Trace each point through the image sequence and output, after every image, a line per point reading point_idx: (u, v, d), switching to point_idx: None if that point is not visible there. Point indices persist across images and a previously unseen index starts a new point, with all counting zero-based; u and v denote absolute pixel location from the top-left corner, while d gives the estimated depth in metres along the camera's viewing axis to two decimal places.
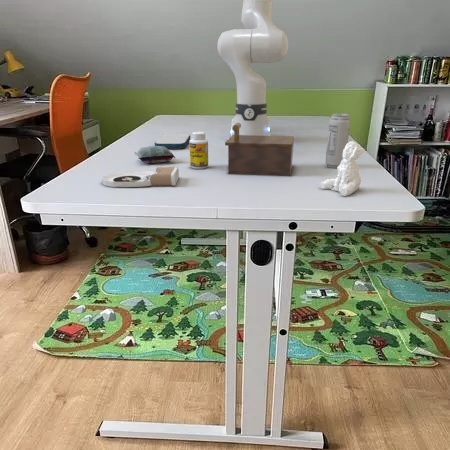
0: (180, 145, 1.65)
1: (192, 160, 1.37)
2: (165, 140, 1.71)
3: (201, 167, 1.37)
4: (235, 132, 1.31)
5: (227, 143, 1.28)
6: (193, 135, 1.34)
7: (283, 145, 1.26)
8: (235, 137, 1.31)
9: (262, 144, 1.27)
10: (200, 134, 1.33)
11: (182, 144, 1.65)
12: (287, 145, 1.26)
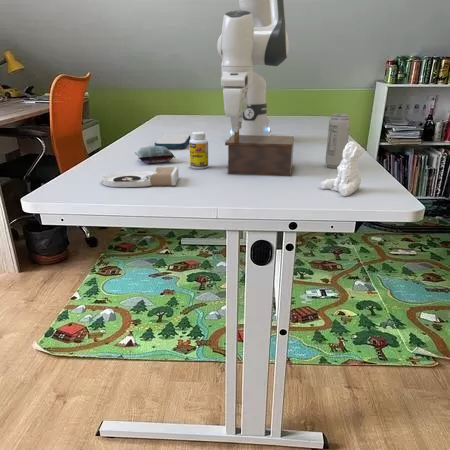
0: (180, 145, 1.65)
1: (192, 160, 1.37)
2: (165, 140, 1.71)
3: (201, 167, 1.37)
4: (235, 132, 1.31)
5: (227, 143, 1.28)
6: (193, 135, 1.34)
7: (283, 145, 1.26)
8: (235, 137, 1.31)
9: (262, 144, 1.27)
10: (200, 134, 1.33)
11: (182, 144, 1.65)
12: (287, 145, 1.26)
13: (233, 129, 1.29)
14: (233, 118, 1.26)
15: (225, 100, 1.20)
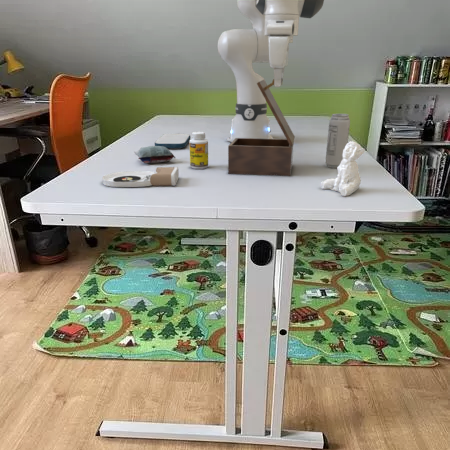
0: (180, 145, 1.65)
1: (192, 160, 1.37)
2: (165, 140, 1.71)
3: (201, 167, 1.37)
4: (271, 84, 1.23)
5: (259, 84, 1.20)
6: (193, 135, 1.34)
7: (287, 138, 1.25)
8: (267, 87, 1.24)
9: (278, 118, 1.23)
10: (200, 134, 1.33)
11: (182, 144, 1.65)
12: (289, 141, 1.25)
13: (276, 83, 1.22)
14: (277, 71, 1.19)
15: (271, 49, 1.13)
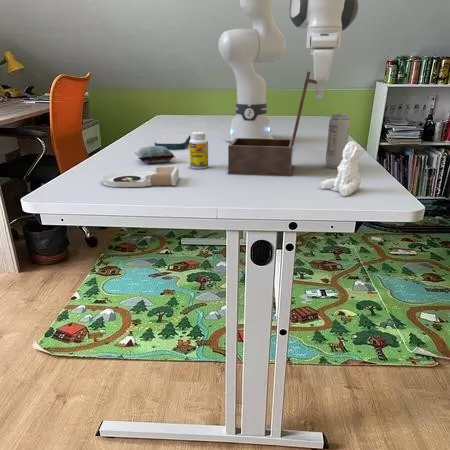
0: (180, 145, 1.65)
1: (192, 160, 1.37)
2: (165, 140, 1.71)
3: (201, 167, 1.37)
4: (316, 82, 1.21)
5: (308, 74, 1.17)
6: (193, 135, 1.34)
7: (294, 137, 1.24)
8: (311, 81, 1.21)
9: (299, 115, 1.22)
10: (200, 134, 1.33)
11: (182, 144, 1.65)
12: (293, 141, 1.25)
13: (318, 95, 1.22)
14: (319, 83, 1.20)
15: (315, 62, 1.13)
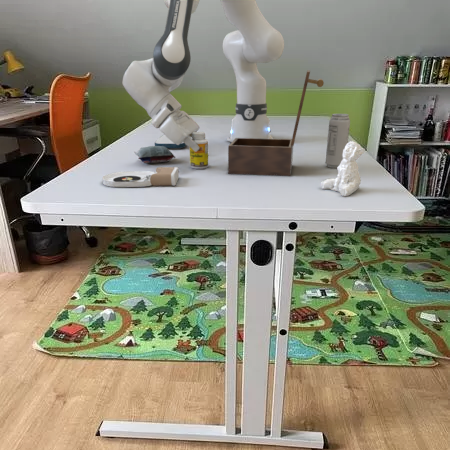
0: (180, 145, 1.65)
1: (192, 160, 1.37)
2: (165, 140, 1.71)
3: (201, 167, 1.37)
4: (315, 82, 1.21)
5: (308, 74, 1.17)
6: (193, 135, 1.34)
7: (293, 137, 1.24)
8: (310, 81, 1.21)
9: (299, 115, 1.22)
10: (200, 134, 1.33)
11: (182, 144, 1.65)
12: (293, 141, 1.25)
13: (195, 149, 1.33)
14: (186, 141, 1.31)
15: (166, 134, 1.27)
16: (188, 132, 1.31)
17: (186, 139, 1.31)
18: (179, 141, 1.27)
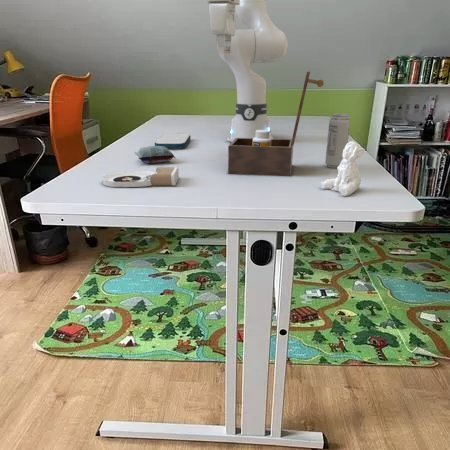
0: (180, 145, 1.65)
1: None
2: (165, 140, 1.71)
3: None
4: (315, 82, 1.21)
5: (308, 74, 1.17)
6: (257, 133, 1.31)
7: (293, 137, 1.24)
8: (310, 81, 1.21)
9: (299, 115, 1.22)
10: (265, 132, 1.30)
11: (182, 144, 1.65)
12: (293, 141, 1.25)
13: (219, 50, 1.26)
14: (219, 37, 1.24)
15: (211, 15, 1.19)
16: (227, 31, 1.25)
17: (220, 35, 1.24)
18: (216, 32, 1.21)
